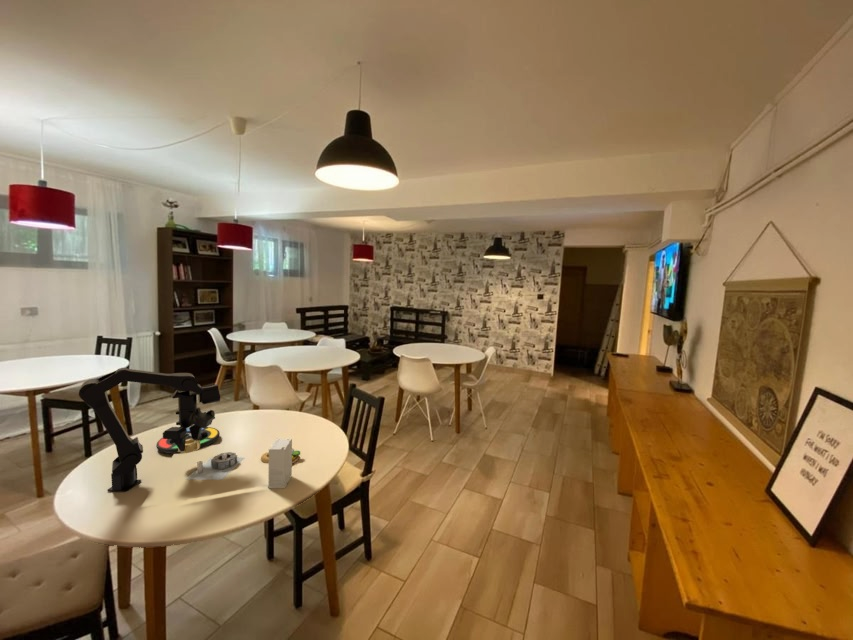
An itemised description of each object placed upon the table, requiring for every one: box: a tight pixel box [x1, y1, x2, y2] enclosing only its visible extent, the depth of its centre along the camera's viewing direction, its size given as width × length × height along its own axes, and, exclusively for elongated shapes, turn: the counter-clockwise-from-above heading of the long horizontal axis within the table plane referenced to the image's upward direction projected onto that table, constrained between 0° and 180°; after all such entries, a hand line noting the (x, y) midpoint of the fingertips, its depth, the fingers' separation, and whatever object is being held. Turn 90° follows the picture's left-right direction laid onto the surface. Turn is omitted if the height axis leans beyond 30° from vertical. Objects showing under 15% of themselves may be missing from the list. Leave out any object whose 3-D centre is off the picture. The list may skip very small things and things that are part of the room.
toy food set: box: [260, 447, 301, 465], centre depth 138 cm, size 13×13×3 cm
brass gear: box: [177, 439, 200, 454], centre depth 129 cm, size 7×7×3 cm
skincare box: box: [267, 438, 293, 489], centre depth 121 cm, size 8×6×15 cm
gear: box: [210, 451, 238, 470], centre depth 131 cm, size 9×9×3 cm
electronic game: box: [155, 426, 221, 455], centre depth 150 cm, size 23×23×5 cm
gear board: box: [185, 454, 245, 481], centre depth 128 cm, size 16×13×5 cm
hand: (189, 446), depth 129 cm, fingers closed on brass gear, 7 cm apart
